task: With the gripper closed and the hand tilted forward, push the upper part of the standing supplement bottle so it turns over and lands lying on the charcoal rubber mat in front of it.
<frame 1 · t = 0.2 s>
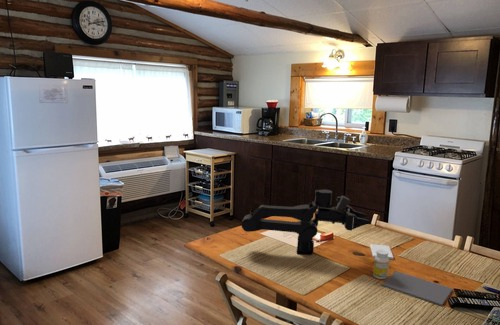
hand: (368, 218, 160), 16 cm above the table, tool horizontal, fingers open, 9 cm apart
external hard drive: (381, 254, 167), on the table
mat: (416, 287, 137), on the table
supplement bottle: (380, 276, 145), on the table
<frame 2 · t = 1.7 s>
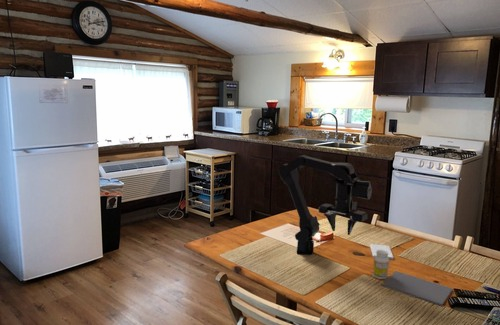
hand: (341, 232, 156), 12 cm above the table, tool pointing down, fingers open, 6 cm apart
nothing on the table moved.
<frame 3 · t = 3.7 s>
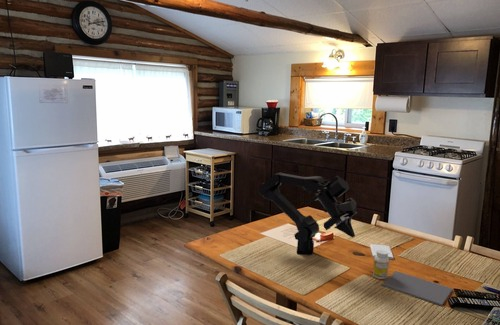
hand: (353, 236, 150), 12 cm above the table, tool tilted 45°, fingers closed
nothing on the table moved.
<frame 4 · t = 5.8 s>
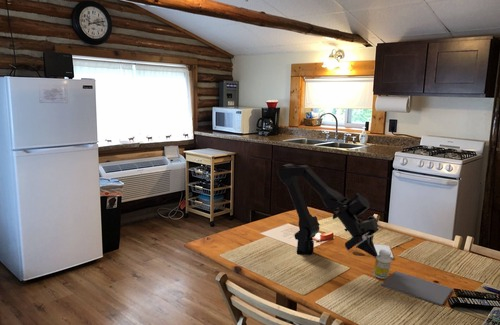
hand: (376, 256, 145), 7 cm above the table, tool tilted 45°, fingers closed, pressing on supplement bottle
supplement bottle: (380, 275, 145), on the table, touching gripper
everything else where it was.
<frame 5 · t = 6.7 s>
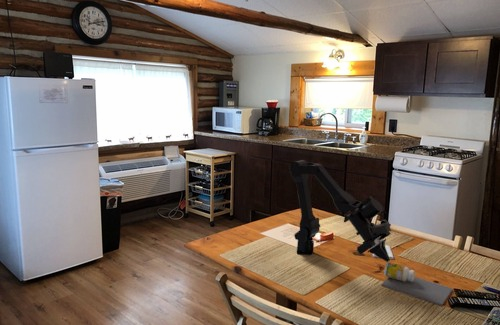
hand: (388, 261, 142), 7 cm above the table, tool tilted 45°, fingers closed
supplement bottle: (385, 268, 144), point 3 cm above the table, touching mat
everything else where it was.
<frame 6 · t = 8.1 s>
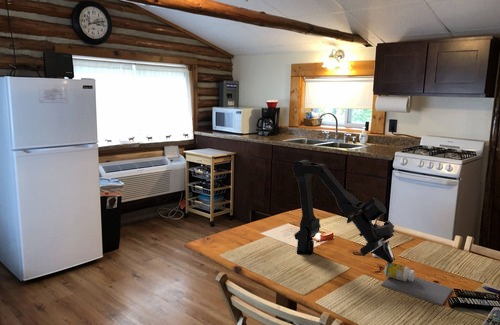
hand: (391, 262, 142), 7 cm above the table, tool tilted 45°, fingers closed
nothing on the table moved.
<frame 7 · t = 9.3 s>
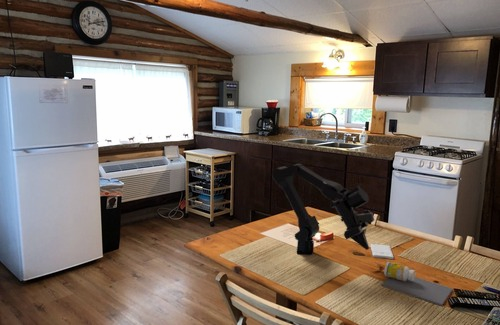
hand: (367, 249, 148), 9 cm above the table, tool tilted 35°, fingers closed
nothing on the table moved.
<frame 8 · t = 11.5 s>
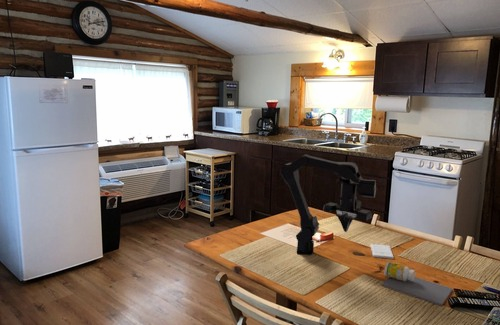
hand: (345, 231, 157), 12 cm above the table, tool pointing down, fingers closed
nothing on the table moved.
at the end: supplement bottle tilted 90°; supplement bottle 11.6 cm from the mat (horizontally); the gripper is holding nothing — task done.
